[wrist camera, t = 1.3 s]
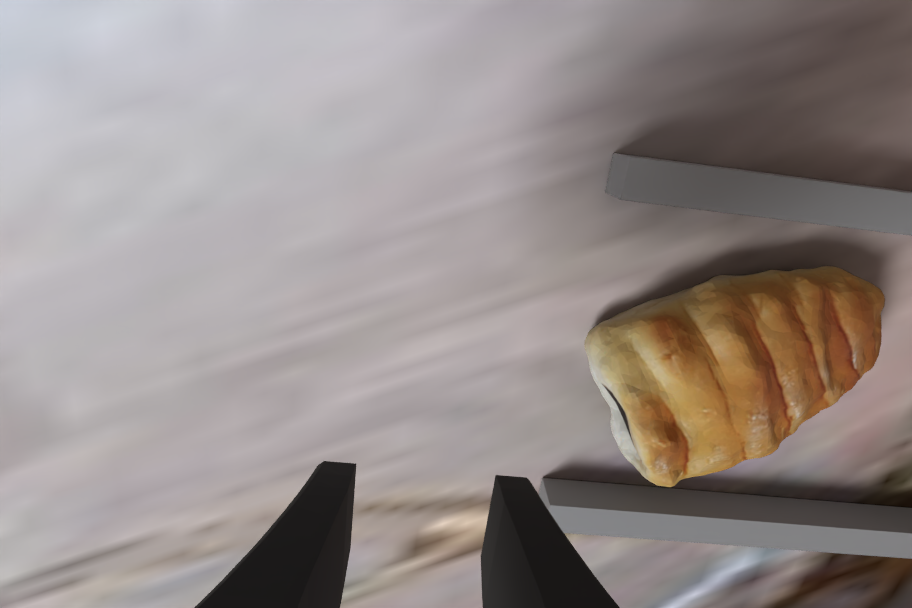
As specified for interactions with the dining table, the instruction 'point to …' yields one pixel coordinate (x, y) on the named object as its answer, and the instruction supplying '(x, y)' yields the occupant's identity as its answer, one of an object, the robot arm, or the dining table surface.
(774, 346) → the pastry
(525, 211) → the dining table surface
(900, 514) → the bay
